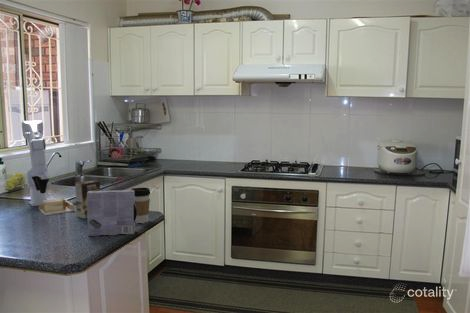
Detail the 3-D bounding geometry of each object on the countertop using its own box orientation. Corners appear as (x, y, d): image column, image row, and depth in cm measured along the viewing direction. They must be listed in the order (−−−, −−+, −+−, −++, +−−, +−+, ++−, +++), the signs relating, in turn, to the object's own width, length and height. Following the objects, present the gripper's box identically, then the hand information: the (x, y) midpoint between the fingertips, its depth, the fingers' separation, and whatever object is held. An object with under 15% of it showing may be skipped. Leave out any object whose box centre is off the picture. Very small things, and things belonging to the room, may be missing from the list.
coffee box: (83, 219, 185) (81, 184, 183) (76, 216, 189) (74, 182, 187) (101, 214, 192) (100, 181, 190) (94, 212, 196) (92, 179, 194)
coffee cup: (128, 221, 181) (126, 188, 179) (144, 217, 187) (143, 185, 185) (138, 225, 175) (137, 191, 173) (155, 221, 181) (154, 188, 179)
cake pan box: (138, 230, 169) (136, 188, 167) (137, 234, 164) (135, 191, 162) (89, 233, 166) (87, 190, 164) (87, 237, 161) (84, 193, 159)
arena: (39, 210, 201) (38, 204, 200) (66, 205, 209) (66, 200, 208) (45, 215, 191) (45, 209, 191) (74, 210, 199) (73, 204, 199)
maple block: (43, 209, 199) (42, 200, 198) (62, 206, 204) (62, 197, 204) (46, 212, 195) (45, 202, 194) (65, 208, 201) (65, 199, 200)
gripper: (26, 162, 200) (28, 190, 202) (33, 166, 188) (35, 195, 190) (42, 161, 204) (44, 188, 206) (49, 165, 193) (51, 193, 195)
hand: (41, 191), depth 198 cm, fingers open, 7 cm apart
